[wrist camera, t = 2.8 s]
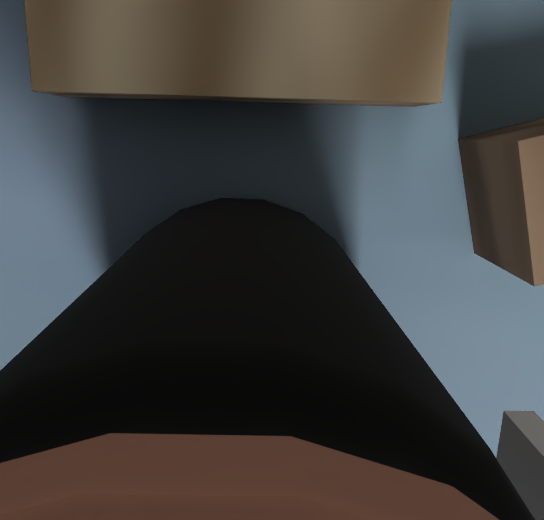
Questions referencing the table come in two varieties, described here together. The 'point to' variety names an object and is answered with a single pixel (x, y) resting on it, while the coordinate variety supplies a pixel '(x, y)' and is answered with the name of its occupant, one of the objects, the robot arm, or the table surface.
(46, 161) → the table surface
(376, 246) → the table surface
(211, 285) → the coffee jar
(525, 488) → the robot arm
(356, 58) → the pallet dock
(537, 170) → the cargo block
